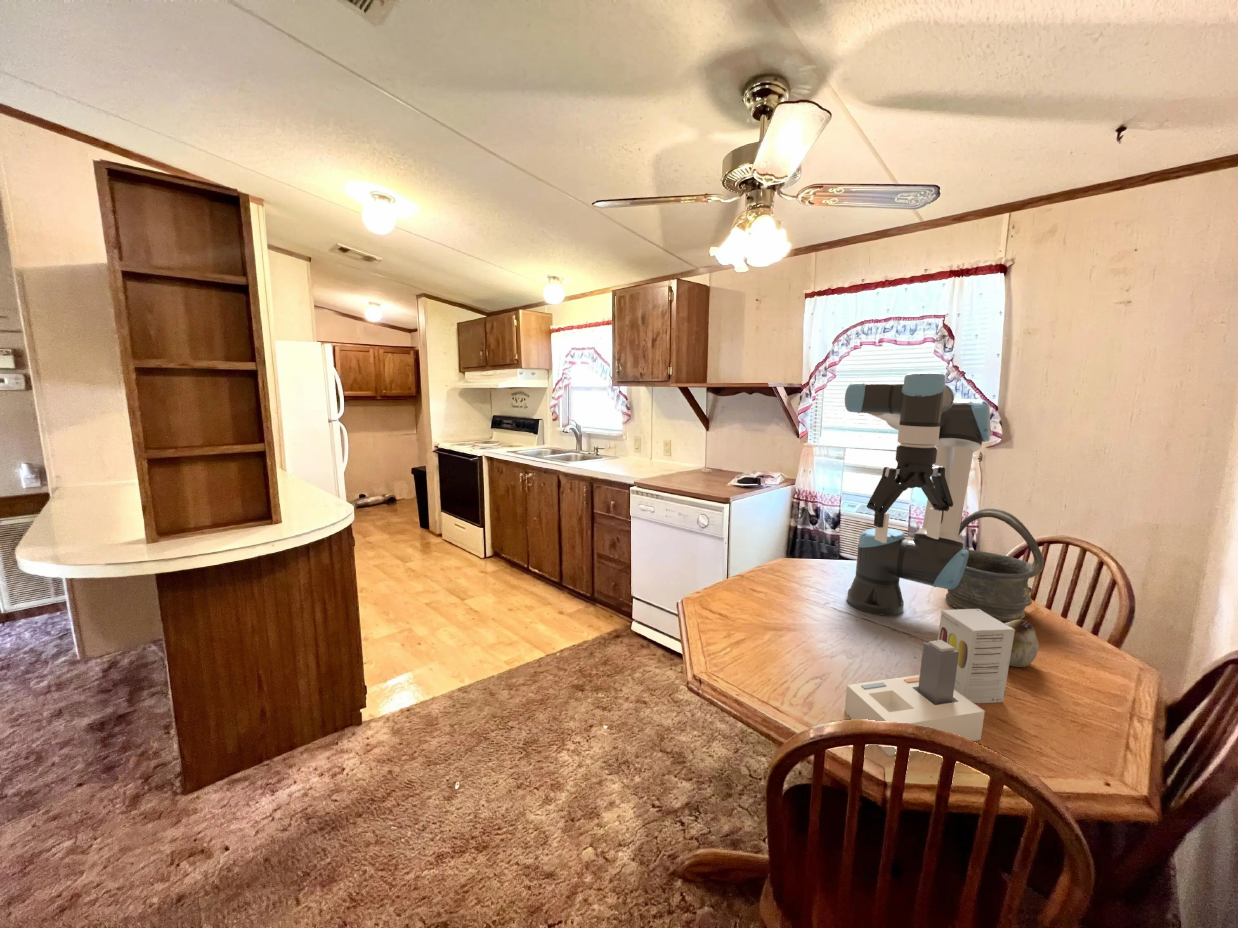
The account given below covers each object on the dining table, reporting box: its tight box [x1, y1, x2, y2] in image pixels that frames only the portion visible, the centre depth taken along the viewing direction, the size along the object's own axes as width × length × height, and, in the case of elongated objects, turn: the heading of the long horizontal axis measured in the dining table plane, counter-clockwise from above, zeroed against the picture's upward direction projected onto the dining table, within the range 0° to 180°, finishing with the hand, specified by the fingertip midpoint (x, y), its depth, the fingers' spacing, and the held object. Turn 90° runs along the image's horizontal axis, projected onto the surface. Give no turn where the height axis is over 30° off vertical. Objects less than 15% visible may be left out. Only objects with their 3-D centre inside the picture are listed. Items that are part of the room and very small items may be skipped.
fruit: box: [1003, 619, 1040, 668], centre depth 114 cm, size 10×9×12 cm
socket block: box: [844, 674, 986, 757], centre depth 93 cm, size 20×12×6 cm, turn 102°
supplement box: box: [937, 608, 1015, 705], centre depth 103 cm, size 10×9×17 cm
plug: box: [918, 639, 959, 705], centre depth 93 cm, size 4×4×14 cm
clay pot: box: [945, 508, 1045, 622], centre depth 141 cm, size 22×23×30 cm
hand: (906, 539), depth 107 cm, fingers open, 13 cm apart
